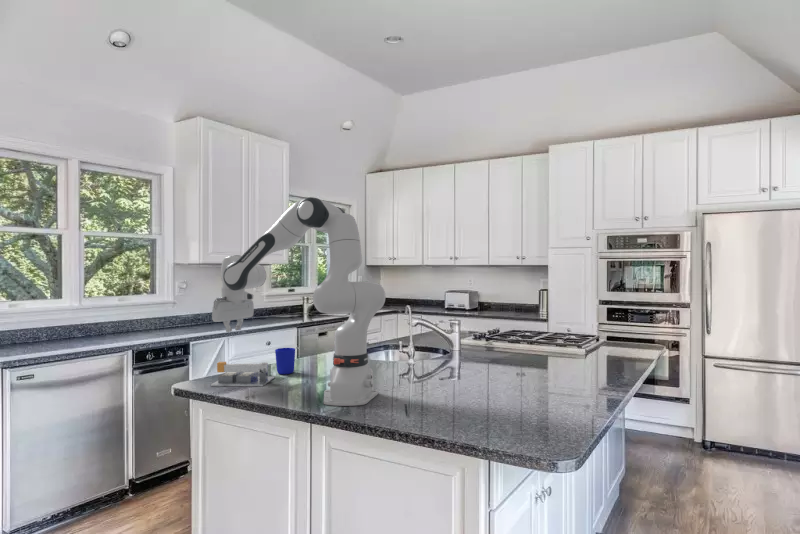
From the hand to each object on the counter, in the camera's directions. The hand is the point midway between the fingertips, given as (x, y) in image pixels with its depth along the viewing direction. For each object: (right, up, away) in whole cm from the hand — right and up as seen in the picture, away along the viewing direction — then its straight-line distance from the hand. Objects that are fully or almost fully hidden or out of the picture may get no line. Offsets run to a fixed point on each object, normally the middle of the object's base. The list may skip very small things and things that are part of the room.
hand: (233, 331), depth 204 cm
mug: (+19, -19, +12) cm, 29 cm away
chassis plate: (+5, -19, -5) cm, 21 cm away
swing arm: (+5, -15, -5) cm, 17 cm away
